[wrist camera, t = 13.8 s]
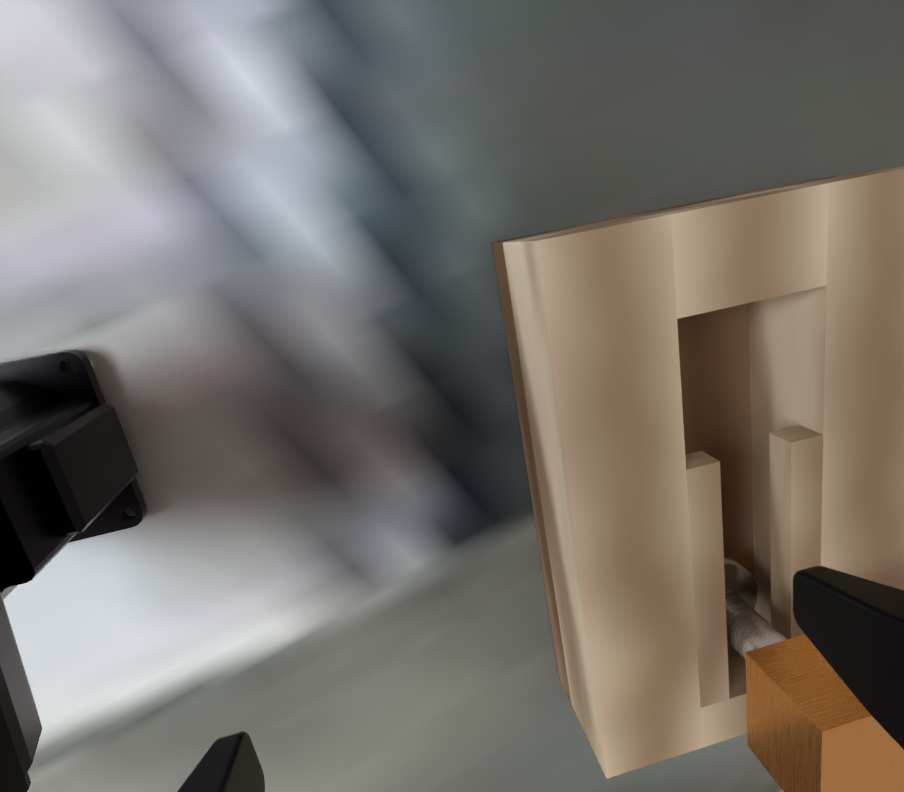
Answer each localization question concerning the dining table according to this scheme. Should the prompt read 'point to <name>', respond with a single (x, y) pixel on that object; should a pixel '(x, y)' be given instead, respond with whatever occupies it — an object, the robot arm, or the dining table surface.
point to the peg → (804, 707)
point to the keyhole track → (705, 436)
